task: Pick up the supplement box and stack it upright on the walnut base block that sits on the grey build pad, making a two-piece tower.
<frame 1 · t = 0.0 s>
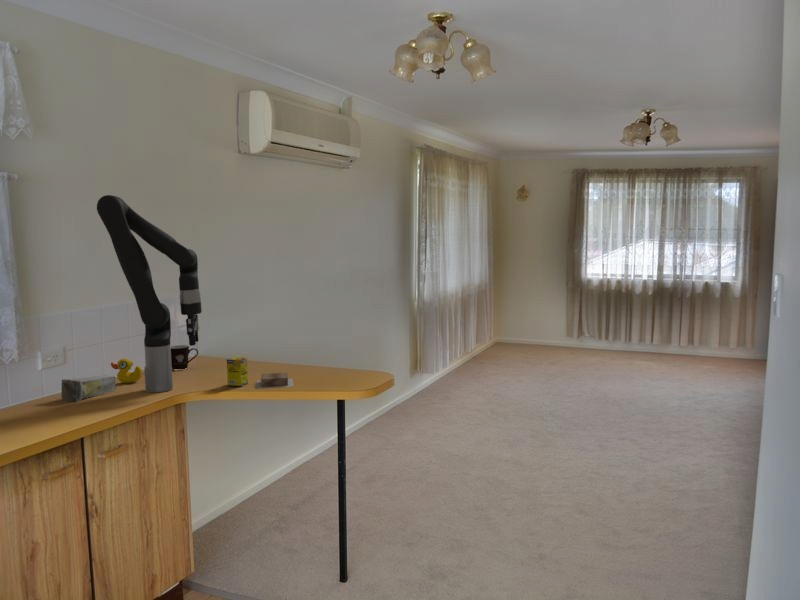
hand: (194, 343, 243), 17 cm above the counter, tool pointing down, fingers open, 8 cm apart
duckling: (128, 383, 255), on the counter
base block: (274, 383, 248), resting on build pad
build pad: (274, 384, 248), on the counter
supplement box: (238, 386, 246), on the counter
coffee mug: (183, 369, 281), on the counter
block: (91, 396, 236), on the counter
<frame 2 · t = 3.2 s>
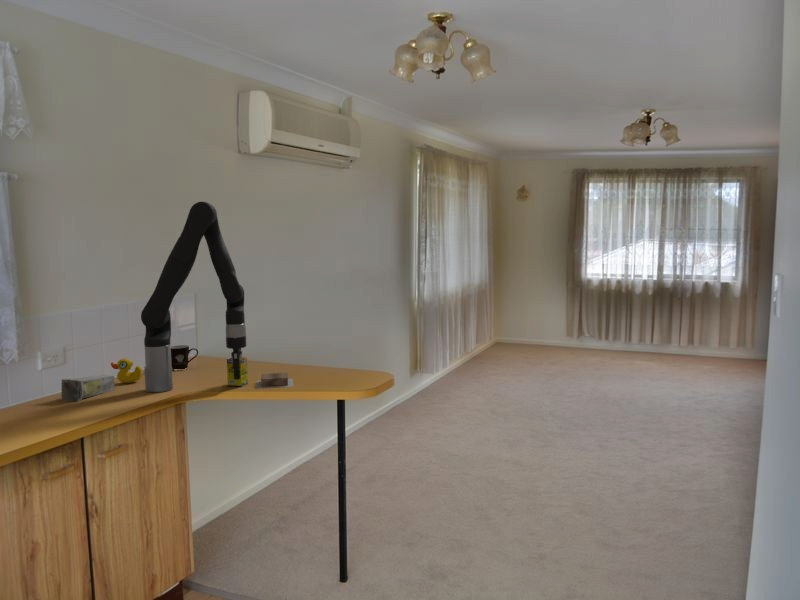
hand: (237, 377, 246), 3 cm above the counter, tool pointing down, fingers closed on supplement box, 7 cm apart
supplement box: (238, 386, 246), on the counter, touching gripper
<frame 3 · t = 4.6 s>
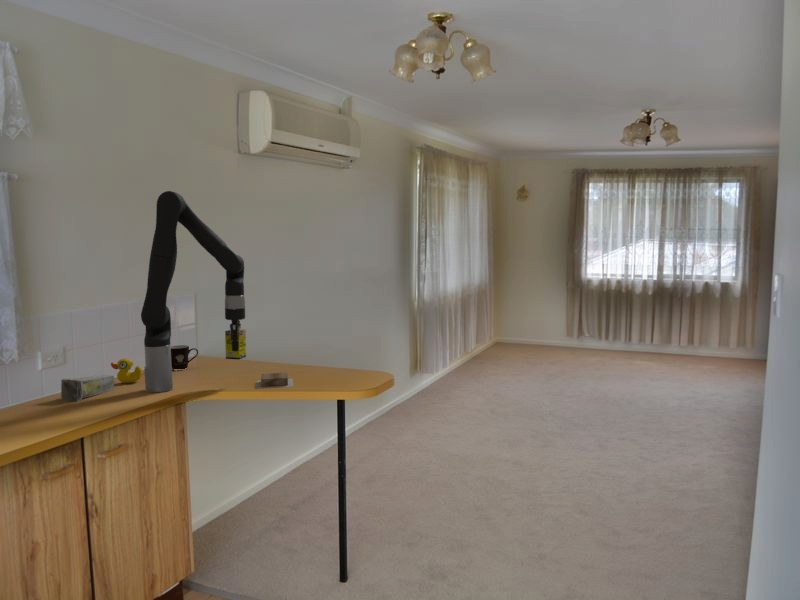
hand: (235, 349, 245), 14 cm above the counter, tool pointing down, fingers closed on supplement box, 7 cm apart
supplement box: (236, 358, 245), point 11 cm above the counter, touching gripper
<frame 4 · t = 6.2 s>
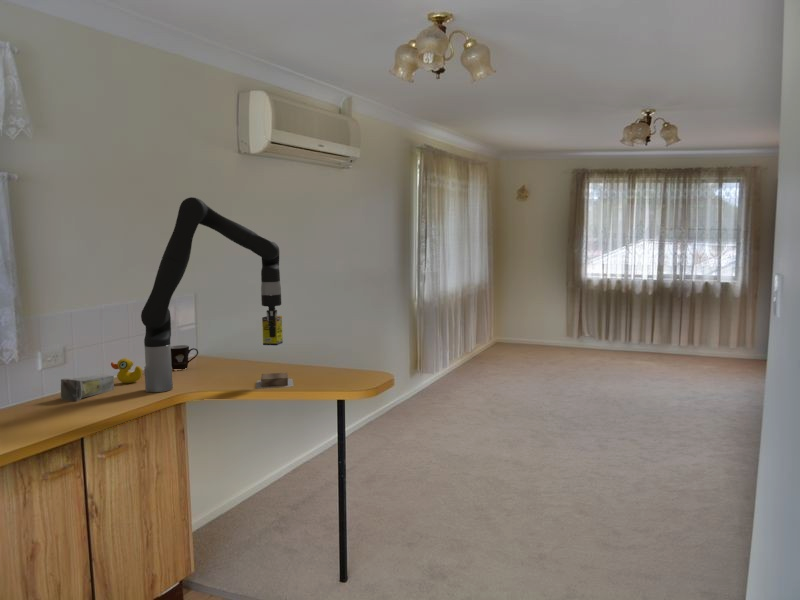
hand: (272, 335, 246), 19 cm above the counter, tool pointing down, fingers closed on supplement box, 7 cm apart
supplement box: (273, 344, 246), point 16 cm above the counter, touching gripper
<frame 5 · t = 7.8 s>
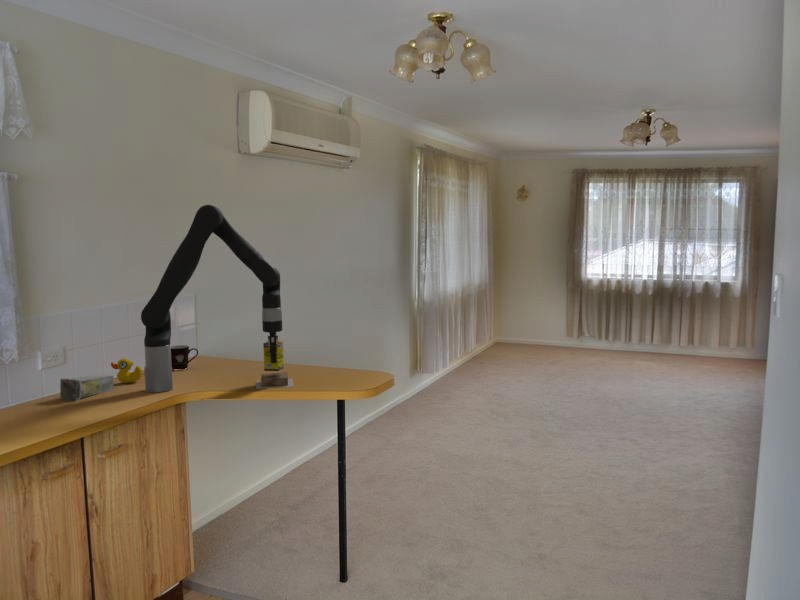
hand: (273, 360, 247), 9 cm above the counter, tool pointing down, fingers closed on supplement box, 7 cm apart
supplement box: (274, 370, 247), point 6 cm above the counter, touching gripper
when the fingers open (8 cm above the counter, at t = 9.2 s): supplement box drops 1 cm, resting on base block.
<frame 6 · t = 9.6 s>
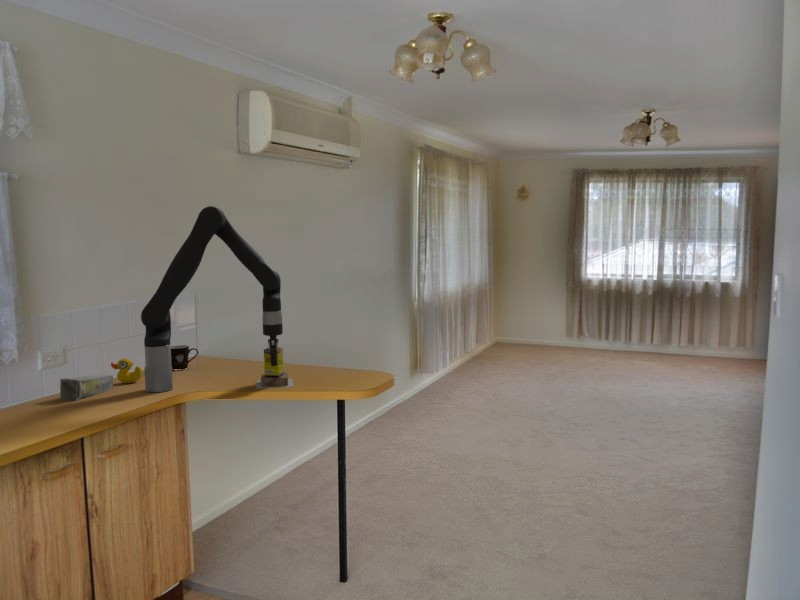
hand: (274, 363, 247), 8 cm above the counter, tool pointing down, fingers open, 8 cm apart
base block: (274, 383, 248), resting on build pad, touching supplement box
supplement box: (274, 376, 248), point 3 cm above the counter, touching base block
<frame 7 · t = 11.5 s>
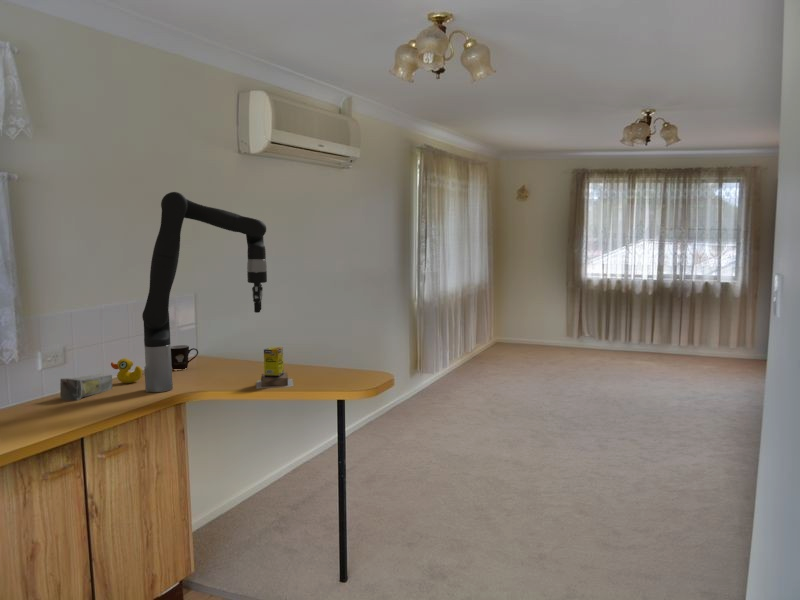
hand: (258, 311, 253), 28 cm above the counter, tool pointing down, fingers open, 8 cm apart
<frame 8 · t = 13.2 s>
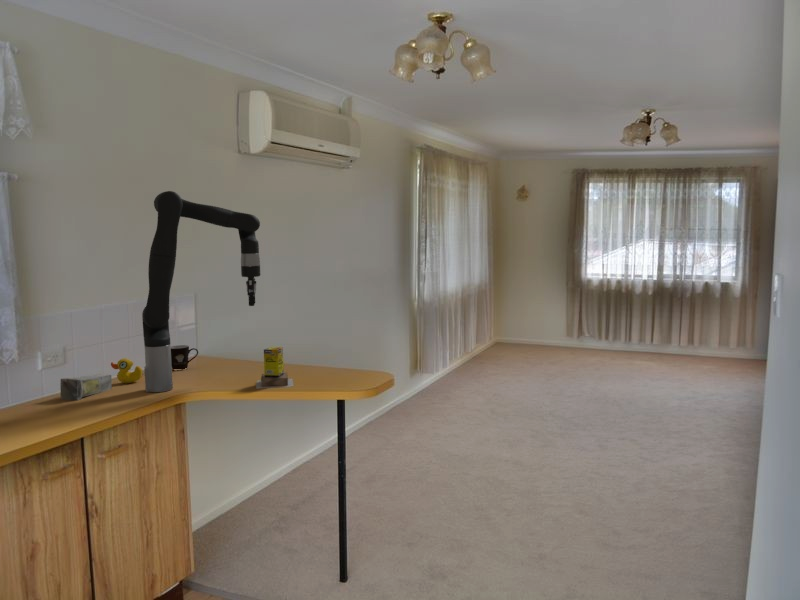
hand: (252, 304, 257), 30 cm above the counter, tool pointing down, fingers open, 8 cm apart
at the end: supplement box 0.2 cm off-centre on the base block, point 2.8 cm above the base block's base; supplement box tilted 0°; the gripper is holding nothing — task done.
